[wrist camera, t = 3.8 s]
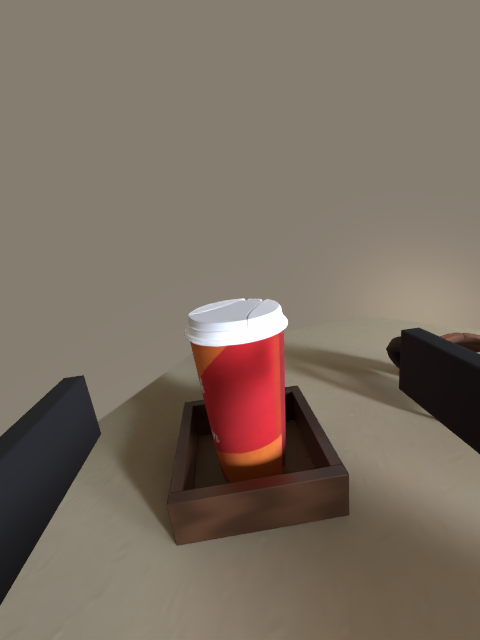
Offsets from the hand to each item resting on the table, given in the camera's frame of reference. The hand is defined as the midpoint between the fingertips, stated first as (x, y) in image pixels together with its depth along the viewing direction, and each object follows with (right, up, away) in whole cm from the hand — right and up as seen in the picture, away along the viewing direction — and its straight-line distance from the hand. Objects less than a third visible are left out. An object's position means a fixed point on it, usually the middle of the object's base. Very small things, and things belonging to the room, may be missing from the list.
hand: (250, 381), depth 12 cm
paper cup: (+1, -10, +13) cm, 17 cm away
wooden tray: (+1, -10, +13) cm, 16 cm away
